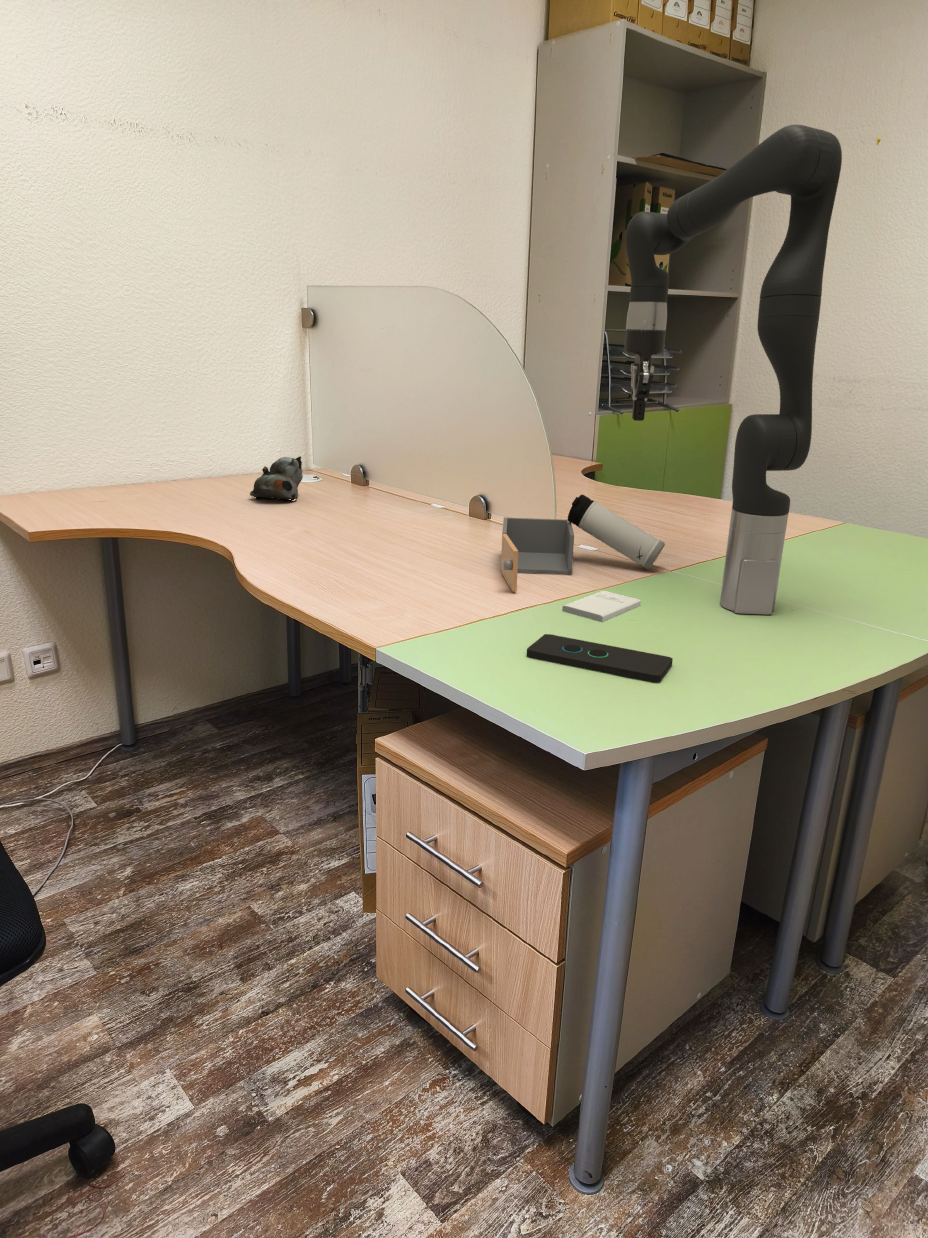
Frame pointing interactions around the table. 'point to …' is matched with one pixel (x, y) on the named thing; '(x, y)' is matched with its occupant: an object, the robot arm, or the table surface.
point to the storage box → (541, 544)
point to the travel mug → (615, 531)
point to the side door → (509, 562)
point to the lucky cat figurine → (280, 479)
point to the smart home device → (600, 658)
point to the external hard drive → (601, 606)
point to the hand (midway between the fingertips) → (637, 419)
